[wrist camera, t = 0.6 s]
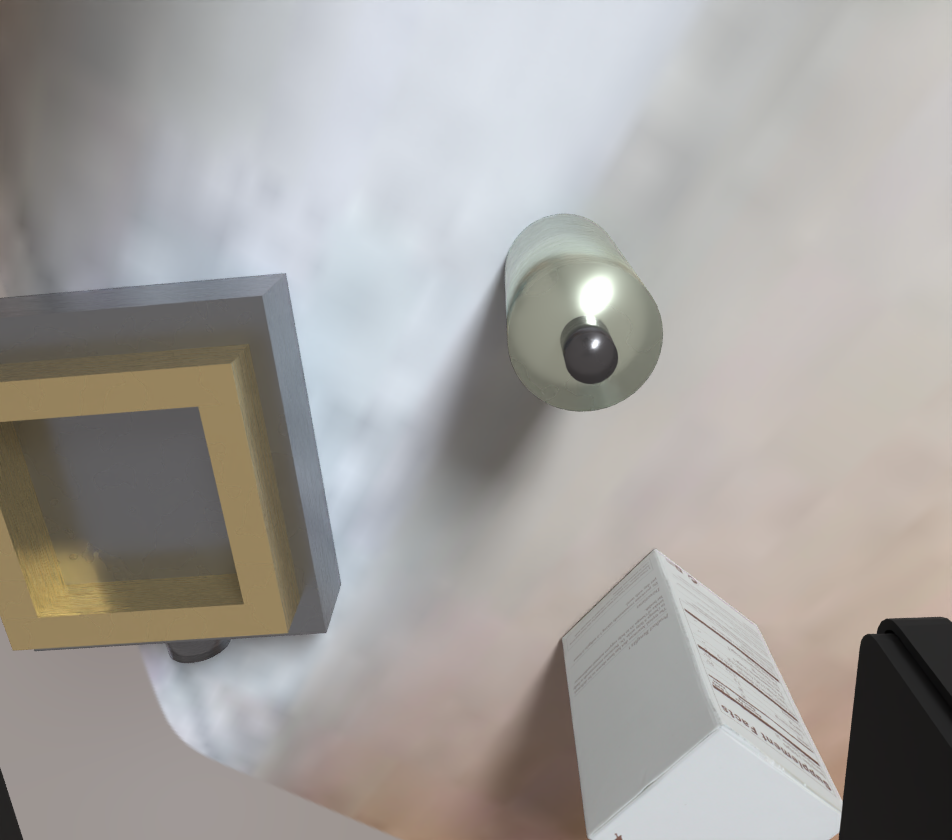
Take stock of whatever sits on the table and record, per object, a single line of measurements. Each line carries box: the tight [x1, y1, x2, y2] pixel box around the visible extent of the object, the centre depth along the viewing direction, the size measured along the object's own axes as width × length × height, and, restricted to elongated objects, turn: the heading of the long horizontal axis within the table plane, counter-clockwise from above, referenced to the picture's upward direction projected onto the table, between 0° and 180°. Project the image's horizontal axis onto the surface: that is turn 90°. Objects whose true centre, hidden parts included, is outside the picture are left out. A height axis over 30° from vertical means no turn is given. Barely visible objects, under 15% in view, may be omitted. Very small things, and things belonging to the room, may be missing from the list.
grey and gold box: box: [0, 273, 341, 663], centre depth 37 cm, size 18×14×6 cm
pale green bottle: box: [505, 214, 663, 411], centre depth 31 cm, size 5×5×12 cm
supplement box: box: [562, 549, 843, 840], centre depth 38 cm, size 7×7×13 cm
